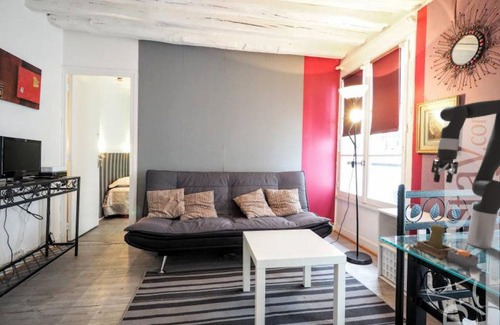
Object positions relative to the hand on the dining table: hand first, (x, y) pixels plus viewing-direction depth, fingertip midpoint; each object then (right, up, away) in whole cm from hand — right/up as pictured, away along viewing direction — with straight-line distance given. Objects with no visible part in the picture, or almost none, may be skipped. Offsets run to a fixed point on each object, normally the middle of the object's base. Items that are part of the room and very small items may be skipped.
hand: (442, 182), depth 125 cm
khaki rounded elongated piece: (-10, -30, -8) cm, 32 cm away
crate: (-9, -30, -8) cm, 33 cm away
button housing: (-6, -32, -18) cm, 37 cm away
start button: (-6, -30, -18) cm, 36 cm away
